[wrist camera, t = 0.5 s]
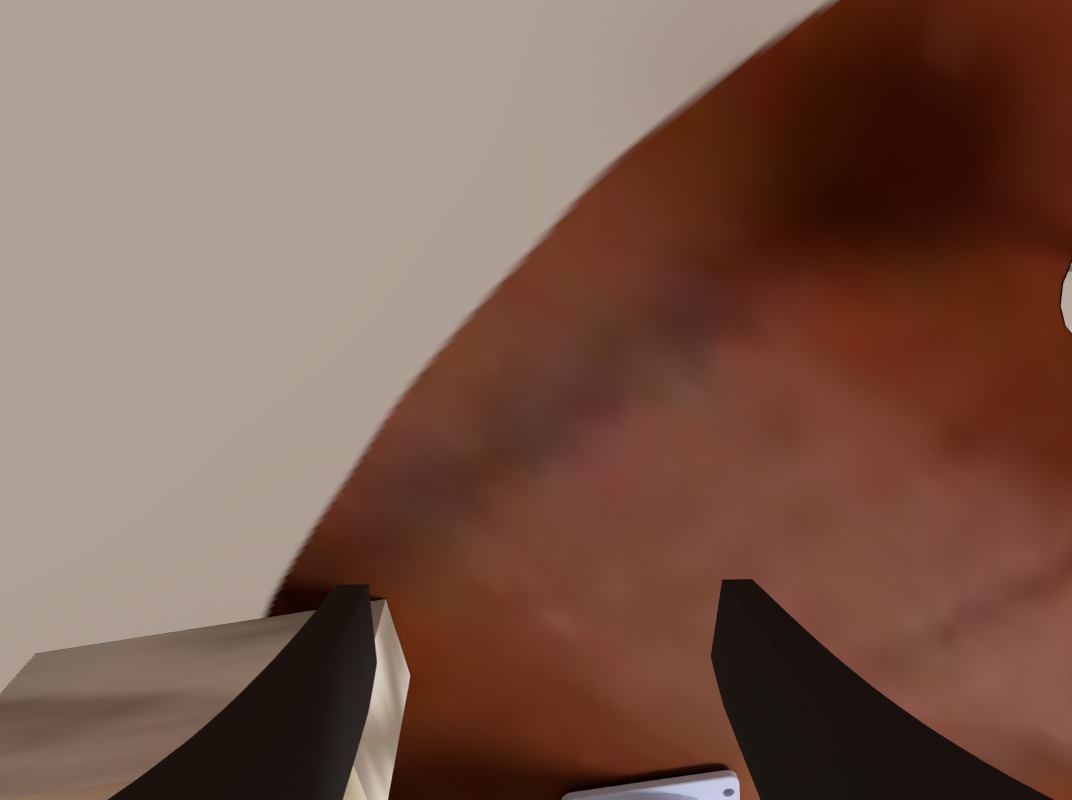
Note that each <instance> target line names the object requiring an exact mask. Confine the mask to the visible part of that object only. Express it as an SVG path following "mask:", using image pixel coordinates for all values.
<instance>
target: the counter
mask: <svg viewBox="0 0 1072 800" xmlns="http://www.w3.org/2000/svg"><path fill="white" fill-rule="evenodd" d="M315 611H316V610H313V611H306V612H300V613H293V614H287V615H281V616H274V617H268V618H261V619H255V620H249V621H242V622H236V623H229V624H223V625H216V626H210V627H203V628H198V629H190V630H184V631H178V632H171V633H165V634H159V635H152V636H146V637H139V638H133V639H127V640H120V641H114V642H108V643H100V644H94V645H88V646H81V647H75V648H68V649H62V650H55V651H49V652H43V653H36V654H35V655H34V656H33V658H32V659H31V660H30V661H29V662H28V663H27V664H26V665H25V666H24V668H23V669H22V670H21V671H20V672H19V673H18V674H17V676H16V677H15V678H14V679H13V680H12V681H11V682H10V683H9V685H8V686H7V687H6V688H5V689H4V690H3V691H2V693H1V694H0V800H107V799H109V798H110V797H112V796H113V795H115V794H116V793H118V792H119V791H120V790H122V789H123V788H125V787H126V786H128V785H129V784H131V783H132V782H133V781H135V780H136V779H138V778H139V777H140V776H142V775H143V774H144V773H146V772H147V771H148V770H150V769H151V768H152V767H154V766H155V765H156V764H157V763H159V762H160V761H161V760H163V759H164V758H165V757H167V756H168V755H169V754H171V753H172V752H173V751H174V750H176V749H177V748H178V747H180V746H181V745H182V744H184V743H185V742H186V741H187V740H189V739H190V738H191V737H192V736H193V735H195V734H196V733H197V732H198V731H199V730H200V729H201V728H203V727H204V726H205V725H206V724H207V723H208V722H210V721H211V720H212V719H213V718H214V717H215V716H216V715H217V714H218V713H220V712H221V711H222V710H223V709H224V708H225V707H226V706H227V705H228V704H229V703H230V702H231V701H232V700H234V699H235V698H236V697H237V696H238V695H239V694H240V693H241V692H242V691H243V690H244V689H245V688H246V687H247V686H248V685H249V684H250V683H251V682H252V681H253V680H254V679H255V678H256V677H257V676H258V675H259V674H260V673H261V672H262V671H263V669H264V668H265V667H266V666H267V665H268V664H269V663H270V662H271V661H272V660H273V659H274V658H275V657H276V656H277V655H278V653H279V652H280V651H281V650H282V649H283V648H284V647H285V646H286V645H287V643H288V642H289V641H290V640H291V639H292V638H293V637H294V636H295V634H296V633H297V632H298V631H299V630H300V629H301V628H302V626H303V625H304V624H305V623H306V622H307V620H308V619H309V618H310V617H311V616H312V615H313V613H314V612H315ZM371 611H372V620H373V629H374V638H375V647H376V656H377V667H376V673H375V679H374V685H373V691H372V696H371V702H370V707H369V713H368V716H367V720H366V723H365V727H364V730H363V734H362V737H361V740H360V744H359V747H358V751H357V754H356V757H355V761H354V764H353V768H352V771H351V774H350V778H349V781H348V784H347V788H346V791H345V794H344V798H343V800H388V796H389V791H390V785H391V780H392V774H393V769H394V763H395V757H396V752H397V746H398V741H399V735H400V730H401V724H402V719H403V713H404V708H405V702H406V696H407V691H408V685H409V680H410V673H409V670H408V667H407V664H406V661H405V658H404V655H403V652H402V649H401V645H400V642H399V639H398V636H397V633H396V630H395V627H394V624H393V621H392V618H391V614H390V611H389V608H388V605H387V602H386V599H383V600H377V601H371Z"/></svg>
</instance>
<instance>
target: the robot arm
mask: <svg viewBox="0 0 1072 800" xmlns="http://www.w3.org/2000/svg"><path fill="white" fill-rule="evenodd" d="M711 659H712V663H713V667H714V671H715V675H716V679H717V683H718V687H719V691H720V694H721V698H722V702H723V705H724V708H725V711H726V713H727V716H728V719H729V721H730V724H731V726H732V729H733V731H734V734H735V736H736V739H737V742H738V744H739V747H740V749H741V752H742V754H743V757H744V759H745V762H746V764H747V767H748V769H749V772H750V774H751V777H752V779H753V782H754V784H755V787H756V789H757V792H758V794H759V797H760V799H761V800H1053V799H1051V798H1049V797H1047V796H1046V795H1044V794H1042V793H1040V792H1038V791H1036V790H1034V789H1032V788H1031V787H1029V786H1027V785H1025V784H1023V783H1021V782H1019V781H1017V780H1016V779H1014V778H1012V777H1010V776H1008V775H1006V774H1005V773H1003V772H1001V771H999V770H998V769H996V768H994V767H992V766H991V765H989V764H987V763H985V762H984V761H982V760H980V759H979V758H977V757H975V756H974V755H972V754H971V753H969V752H967V751H966V750H964V749H962V748H961V747H959V746H958V745H956V744H954V743H953V742H951V741H949V740H948V739H946V738H945V737H943V736H941V735H940V734H938V733H937V732H935V731H934V730H932V729H931V728H929V727H928V726H926V725H925V724H923V723H922V722H920V721H919V720H918V719H916V718H915V717H913V716H912V715H910V714H909V713H908V712H906V711H905V710H903V709H902V708H901V707H899V706H898V705H896V704H895V703H894V702H892V701H891V700H889V699H888V698H887V697H885V696H884V695H883V694H881V693H880V692H879V691H877V690H876V689H875V688H873V687H872V686H871V685H870V684H868V683H867V682H866V681H865V680H864V679H862V678H861V677H860V676H859V675H857V674H856V673H855V672H854V671H852V670H851V669H850V668H849V667H847V666H846V665H845V664H844V663H843V662H841V661H840V660H839V659H838V658H837V657H836V656H834V655H833V654H832V653H831V652H830V651H829V650H828V649H826V648H825V647H824V646H823V645H822V644H821V643H820V642H818V641H817V640H816V639H815V638H814V637H813V636H812V635H811V634H810V633H809V632H807V631H806V630H805V629H804V628H803V627H802V626H801V625H800V624H799V623H798V622H797V621H796V620H794V619H793V618H792V617H791V616H790V615H789V614H788V613H787V612H786V611H785V610H784V609H783V608H782V607H781V606H780V605H779V604H778V603H777V602H775V601H774V600H773V599H772V598H771V597H770V596H769V595H768V594H767V593H766V592H765V591H764V590H763V589H762V588H761V587H760V586H759V585H757V584H756V583H755V582H754V581H753V580H752V579H736V580H722V585H721V592H720V599H719V605H718V612H717V619H716V625H715V632H714V639H713V646H712V652H711ZM376 667H377V656H376V647H375V638H374V629H373V620H372V611H371V602H370V592H369V584H362V585H338V586H336V587H335V588H334V589H333V590H332V592H331V593H330V594H329V595H328V596H327V598H326V599H325V600H324V601H323V602H322V604H321V605H320V606H319V607H318V609H317V610H316V611H315V612H314V613H313V615H312V616H311V617H310V618H309V619H308V620H307V622H306V623H305V624H304V625H303V626H302V628H301V629H300V630H299V631H298V632H297V633H296V634H295V636H294V637H293V638H292V639H291V640H290V641H289V642H288V643H287V645H286V646H285V647H284V648H283V649H282V650H281V651H280V652H279V653H278V655H277V656H276V657H275V658H274V659H273V660H272V661H271V662H270V663H269V664H268V665H267V666H266V667H265V668H264V669H263V671H262V672H261V673H260V674H259V675H258V676H257V677H256V678H255V679H254V680H253V681H252V682H251V683H250V684H249V685H248V686H247V687H246V688H245V689H244V690H243V691H242V692H241V693H240V694H239V695H238V696H237V697H236V698H235V699H234V700H232V701H231V702H230V703H229V704H228V705H227V706H226V707H225V708H224V709H223V710H222V711H221V712H220V713H218V714H217V715H216V716H215V717H214V718H213V719H212V720H211V721H210V722H208V723H207V724H206V725H205V726H204V727H203V728H201V729H200V730H199V731H198V732H197V733H196V734H195V735H193V736H192V737H191V738H190V739H189V740H187V741H186V742H185V743H184V744H182V745H181V746H180V747H178V748H177V749H176V750H174V751H173V752H172V753H171V754H169V755H168V756H167V757H165V758H164V759H163V760H161V761H160V762H159V763H157V764H156V765H155V766H154V767H152V768H151V769H150V770H148V771H147V772H146V773H144V774H143V775H142V776H140V777H139V778H138V779H136V780H135V781H133V782H132V783H131V784H129V785H128V786H126V787H125V788H123V789H122V790H120V791H119V792H118V793H116V794H115V795H113V796H112V797H110V798H109V799H107V800H343V798H344V794H345V791H346V788H347V784H348V781H349V778H350V774H351V771H352V768H353V764H354V761H355V757H356V754H357V751H358V747H359V744H360V740H361V737H362V734H363V730H364V727H365V723H366V720H367V716H368V713H369V707H370V702H371V696H372V691H373V685H374V679H375V673H376ZM562 800H740V792H739V781H738V778H737V775H736V773H734V772H733V771H730V770H722V771H715V772H709V773H702V774H695V775H688V776H681V777H674V778H667V779H660V780H653V781H646V782H639V783H632V784H625V785H619V786H612V787H605V788H598V789H591V790H584V791H577V792H571V793H567V794H566V795H564V796H563V798H562Z"/></svg>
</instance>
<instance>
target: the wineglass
mask: <svg viewBox="0 0 1072 800" xmlns="http://www.w3.org/2000/svg"><path fill="white" fill-rule="evenodd" d="M1061 309H1062V312H1063V316H1064V320H1065V324H1066V327H1067V328H1068V329H1069V330H1070V332H1071V333H1072V264H1071V266H1070V269H1069V271H1068V274H1067V276H1066V278H1065V281H1064V283H1063V291H1062V301H1061Z"/></svg>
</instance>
